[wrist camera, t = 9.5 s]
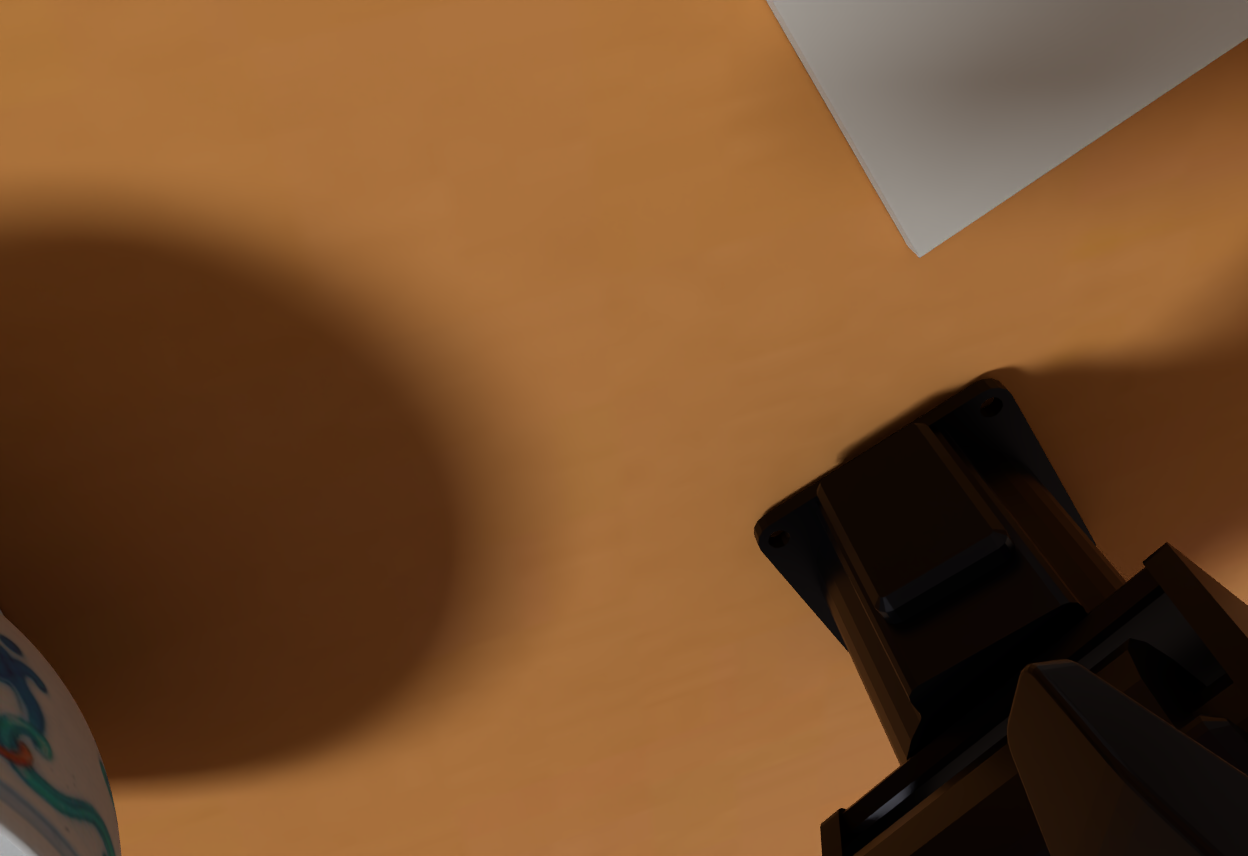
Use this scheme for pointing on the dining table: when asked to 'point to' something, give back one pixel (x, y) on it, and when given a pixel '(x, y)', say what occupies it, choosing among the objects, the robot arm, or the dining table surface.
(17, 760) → the chinaware
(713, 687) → the dining table surface
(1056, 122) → the grey mat
